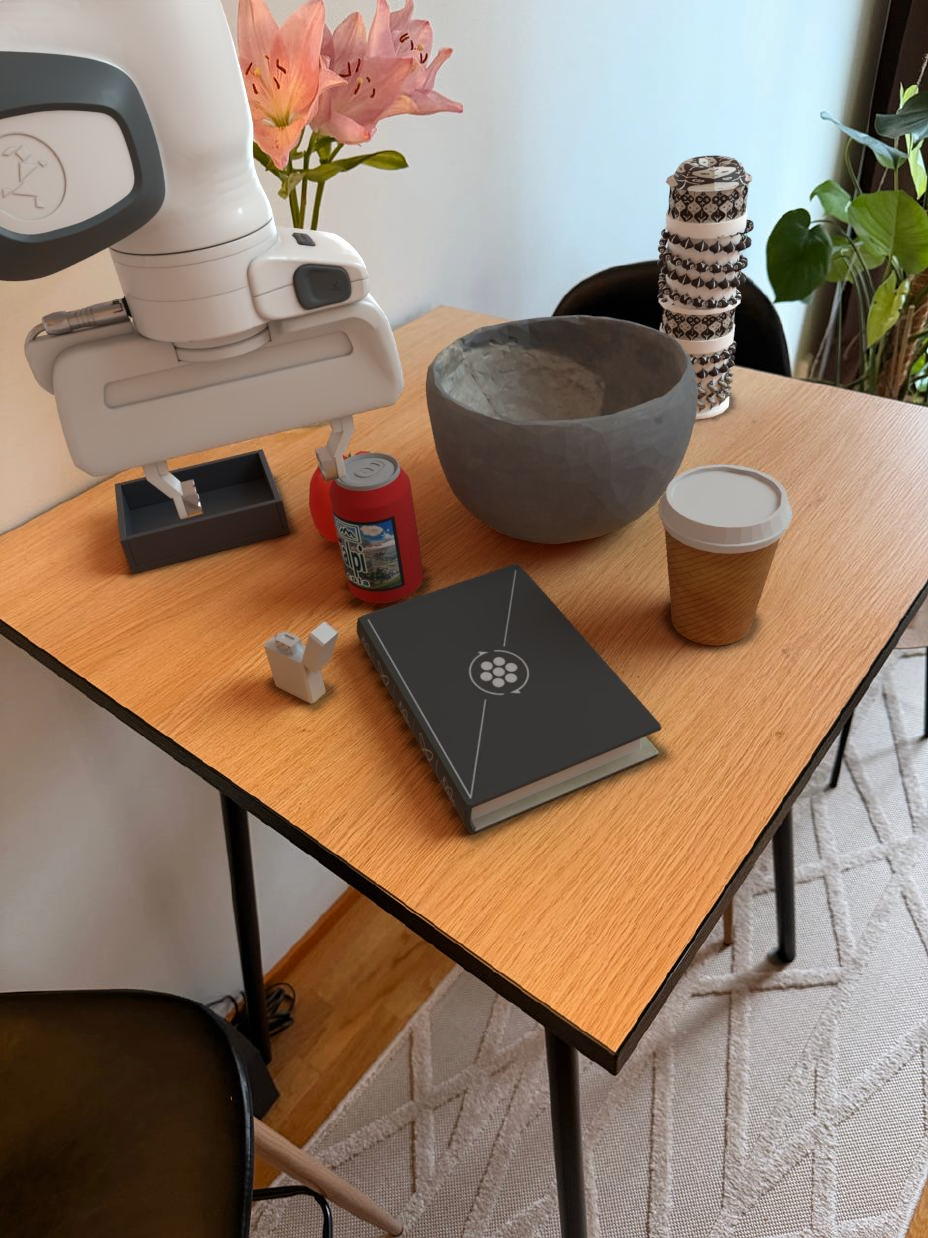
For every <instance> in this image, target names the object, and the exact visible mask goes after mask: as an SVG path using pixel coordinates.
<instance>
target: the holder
mask: <svg viewBox="0 0 928 1238" xmlns="http://www.w3.org/2000/svg"><path fill="white" fill-rule="evenodd" d="M168 471H169V472H170V473H171V474H172V475H173V476H174V477H175V478H177V479H178V480H179V481H180V482H184V481H189V480H193V481H194V483H195V486H196V490H197V494H198V496H199V499H200V502H201V506H202V510H203V514H199V515H196V516H192V517H188V518H185V519H180V517H179V514H178V511H177V508H176V505H175V503H174V500H173V498H170V497H168V496H167V495H166V494H164V493H163V492H162V491H160V490H159V489H158V488H157V487H155V486H154V485H153V484H151V483H150V482H149V481H147V479H146V476H142V477H139V478H135V479H134V478H133V479H130V480H125V481H121V482H118V483H114V494H115V502H116V503H115V505H116V514H117V525H118V537H119V543H120V545H121V548H122V550H123V553H124V555H125V558H126V560H127V564H128V565H129V569H130V571H131V574H133V575H134V574H138V573H142V572H146V571H149V570H154V569H157V568H161V567H165V566H169V565H172V564H178V563H180V562H185V561H188V560H192V559H197V558H199V557H204V556H207V555H211V554H216V553H219V552H224V551H227V550H231V549H235V548H238V547H242V546H247V545H250V544H254V543H257V542H261V541H266V540H269V539H270V540H271V539H273V538H278V537H280V536H286V535H288V534H289V535H290V534H291V530H290V526H289V522H288V517H287V514H286V509H285V506H284V501H283V498H282V496H281V493H280V490H279V488H278V485H277V483H276V481H275V478H274V475H273V471H272V469H271V467H270V464H269V461H268V459H267V456H266V454H265V451H264V449H263V448H261V449H255V450H252V451H248V452H244V453H240V454H235V455H230V456H227V457H222V458H218V459H214V460H211V461H206V462H202V463H197V464H194V465H189V466H185V467H181V468H177V469H171V470H168Z"/></svg>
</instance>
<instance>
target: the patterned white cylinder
mask: <svg viewBox="0 0 928 1238" xmlns="http://www.w3.org/2000/svg"><path fill="white" fill-rule="evenodd" d="M752 181H753V176H752V175H751V174H750V173H748V172H747V171H746V170H745V168H744V165H743V164H742V162H740V160H738V159H736V158H735V157H731V156H727V155H701V156H695V157H691V158H688V159H687V160H686V159H685V160H684V161H683V162H681V163H680V164H679V165H678V167H677V168H676V170H675V172H674V173H673V174H671V175H669V176H668V177H667V178H666V180H665V183H666V184H667V185H668V186H669V194H668V209H666V213H665V228H664V229H662V230H661V231H660V236H661V238H660V239H659V241H658V244H659V245H658V246H657V251H658V253H659V255H658V261H657V267H658V268H660V269H659V270H660V273H659V274H658V279H659V280H658V281H657V287H659V289H658V294H657V299H658V303H659V304H660V306H661V307H662V311H661V312H662V313H661V318H662V320H661V321H662V322H660V326H659V331H661V332H664V333H667V334H668V335H670V336H672V337H673V338H675V339H676V340H677V341H678V342H679V343H680V344H681V345H682V347H683V348H684V350H685V351H686V353H687V354H688V356H689V358H690V360H691V363H692V365H693V368H694V370H695V375H696V381H697V388H698V401H697V412H696V419H695V421H697V420H702V419H703V420H704V419H710V418H713V417H716V416H719V415H721V414H724V412H725V411H726V410H727V409H728V408H729V406H730V397H731V395H732V391H731V390H732V388H733V386H732V385H731V384H732V383H733V381H734V380H733V378H732V377H734V372H733V371H732V370H731V368H733V367H734V366H735V359H736V357H735V355H734V354H735V353H736V351H737V349H736V347H737V342H736V341H735V340H734V337H735V328H736V324H735V315H736V314H735V313H736V308H737V307H738V305H740V304H741V300H743V296H742V292H740V290H738V287H739V286H741V285H743V284H745V283H746V282H747V281H746V279H747V278H746V277H747V276H746V274H745V273H743V272H742V270H744V269H746V268H747V267H748V264H749V262H748V261H749V260H748V258H747V257H746V256H744V255H743V254H741V252H742V251H745V250H746V249H749V248H750V247H751V246H752V238H751V237H750V236H748V235H747V234H748V233H750V232H752V231H753V230H754V228H755V226H754V221H753V220H751V219H748V210H749V208H747V207H748V206H747V205H748V196H749V187H750V183H751V182H752ZM666 246H667V247H666Z"/></svg>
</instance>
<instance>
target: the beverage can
mask: <svg viewBox="0 0 928 1238" xmlns="http://www.w3.org/2000/svg"><path fill="white" fill-rule="evenodd" d="M354 455H355V454H354ZM354 455H351V457H349V458H347V459H345V460H343V461H344V466H345V471H346V477H344V478H340V479H336V480H332V483H331V485H330V489H329V496H330V501H331V506H332V511H333V517H334V521H335V526H336V531H337V536H338V541H339V543H338V545H339V550H340V555H341V560H342V564H343V568H344V573H345V577H346V581H347V586H348V589H349V591H350V593H351V594H352V595H353V596H354V597H355V598H357V599H359V600H361V601H364V602H368V603H371V604H372V603H373V604H389V603H395V602H397V601H400V600H402V599H405V598H407V597H409V596H410V595H412V594H413V593H414V592H416V591H417V590H418V589H419V587H420V586H421V584H422V582H423V579H424V570H423V561H422V553H421V547H420V538H419V532H418V525H417V517H416V511H415V504H414V498H413V491H412V483H411V479H410V476H408V474H407V473H406V471H405V470H404V469H403V468H402V467H401V465H400V463H399V461H398V460H397V458H396V457H394V456H392V455H390V454H387V453H383V452H371V453H363V454H358V455H355V456H354Z"/></svg>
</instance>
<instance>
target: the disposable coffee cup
mask: <svg viewBox="0 0 928 1238" xmlns="http://www.w3.org/2000/svg"><path fill="white" fill-rule="evenodd" d="M657 508H658V516H659V519H660V520H661V523H662V525H663V527H664V537H665V550H666V562H667V563H666V564H667V575H668V589H669V602H670V614H671V623H672V626H673V627H674V629H675V631H676V632H678V633H679V634H680V635H681V636H682V637H683V638H685V639H687V640H689V641H691V642H694V643H697V644H700V645H704V646H726V645H730V644H731V645H732V644H734V643H736V642H739V641H741V640H742V639H744V638H745V637H746V636H747V635H748V634H749V633H750V631H751V628H752V625H753V622H754V619H755V615H756V612H757V610H758V607H759V604H760V600H761V598H762V595H763V592H764V588H765V586H766V582H767V579H768V576H769V574H770V570H771V567H772V564H773V562H774V561H773V560H774V557H775V554H776V551H777V549H778V546H779V543H780V540H781V537H782V536H783V535H784V533H785V532H786V531H787V530H788V528H789V527H790V525H791V522H792V519H793V511H792V505H791V504H790V502H789V497H788V493H787V491H786V489H785V487H784V486H783V485H782V483H780V482H779V480H777V479H776V478H774V477H773V476H771V475H770V474H767V473H765V472H762V471H760V470H757V469H755V468H752V467H748V466H743V465H737V464H726V463H725V464H707V465H701V466H697V467H693V468H690V469H687V470H684V471H683V472H680V473H679V474H677V475H675V476H674V478H673V479H672V481H671V482H670V483H669V485H668V486H667V489H666V491H665V492H664V494H663V495H662V496H661V497H660V499H659V502H658V507H657Z"/></svg>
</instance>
